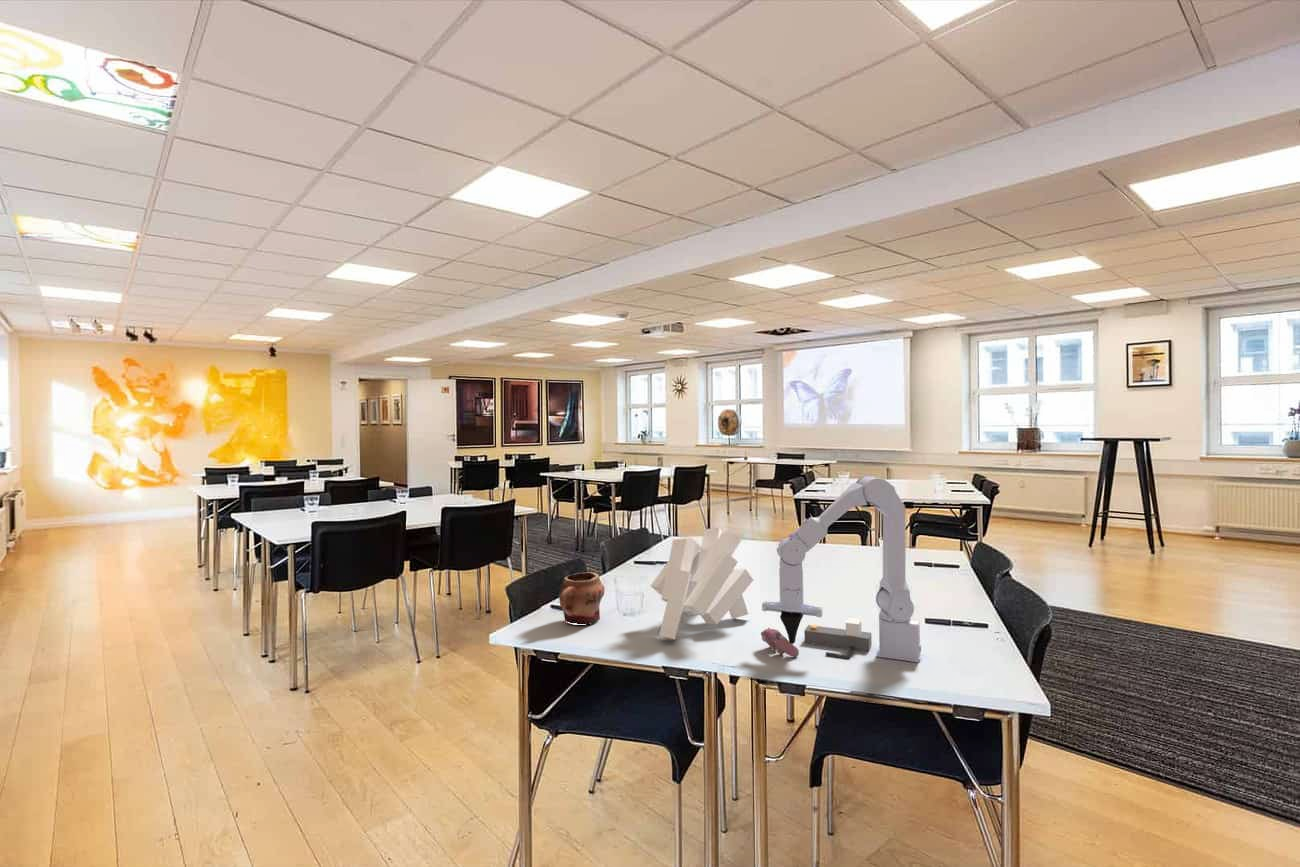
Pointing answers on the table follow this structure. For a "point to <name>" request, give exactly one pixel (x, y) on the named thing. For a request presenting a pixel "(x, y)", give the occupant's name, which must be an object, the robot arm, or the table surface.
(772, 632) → the video game controller
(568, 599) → the decorative planter
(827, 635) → the power strip
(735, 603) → the pile of blocks
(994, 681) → the table surface
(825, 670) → the table surface
